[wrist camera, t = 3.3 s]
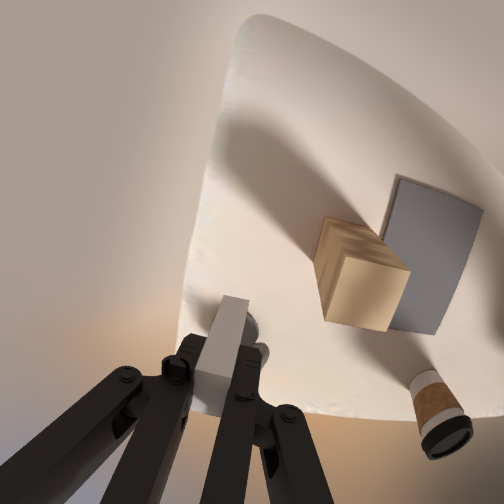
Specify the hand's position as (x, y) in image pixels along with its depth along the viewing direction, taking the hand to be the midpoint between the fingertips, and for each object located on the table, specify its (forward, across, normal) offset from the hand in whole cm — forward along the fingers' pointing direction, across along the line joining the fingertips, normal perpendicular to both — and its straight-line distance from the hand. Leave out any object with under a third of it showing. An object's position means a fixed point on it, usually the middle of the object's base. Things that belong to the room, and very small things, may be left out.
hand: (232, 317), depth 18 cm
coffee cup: (+21, -33, +20) cm, 44 cm away
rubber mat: (+21, -22, 0) cm, 31 cm away
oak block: (+21, -10, 0) cm, 23 cm away
